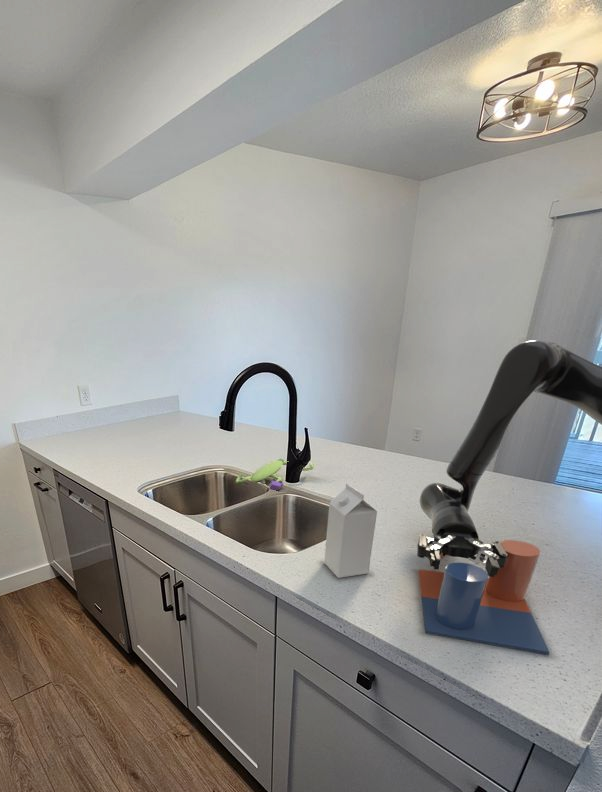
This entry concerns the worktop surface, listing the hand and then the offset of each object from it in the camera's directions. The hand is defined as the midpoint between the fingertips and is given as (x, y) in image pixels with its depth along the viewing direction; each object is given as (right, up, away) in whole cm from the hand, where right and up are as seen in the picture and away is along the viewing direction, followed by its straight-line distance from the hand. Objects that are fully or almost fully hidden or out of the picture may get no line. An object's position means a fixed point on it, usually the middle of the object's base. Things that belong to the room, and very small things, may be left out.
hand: (464, 568), depth 76 cm
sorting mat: (+6, -8, +6) cm, 12 cm away
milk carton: (-14, -2, +21) cm, 25 cm away
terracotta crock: (+13, -5, +9) cm, 17 cm away
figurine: (-19, +26, +77) cm, 84 cm away
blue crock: (0, -9, +3) cm, 10 cm away
